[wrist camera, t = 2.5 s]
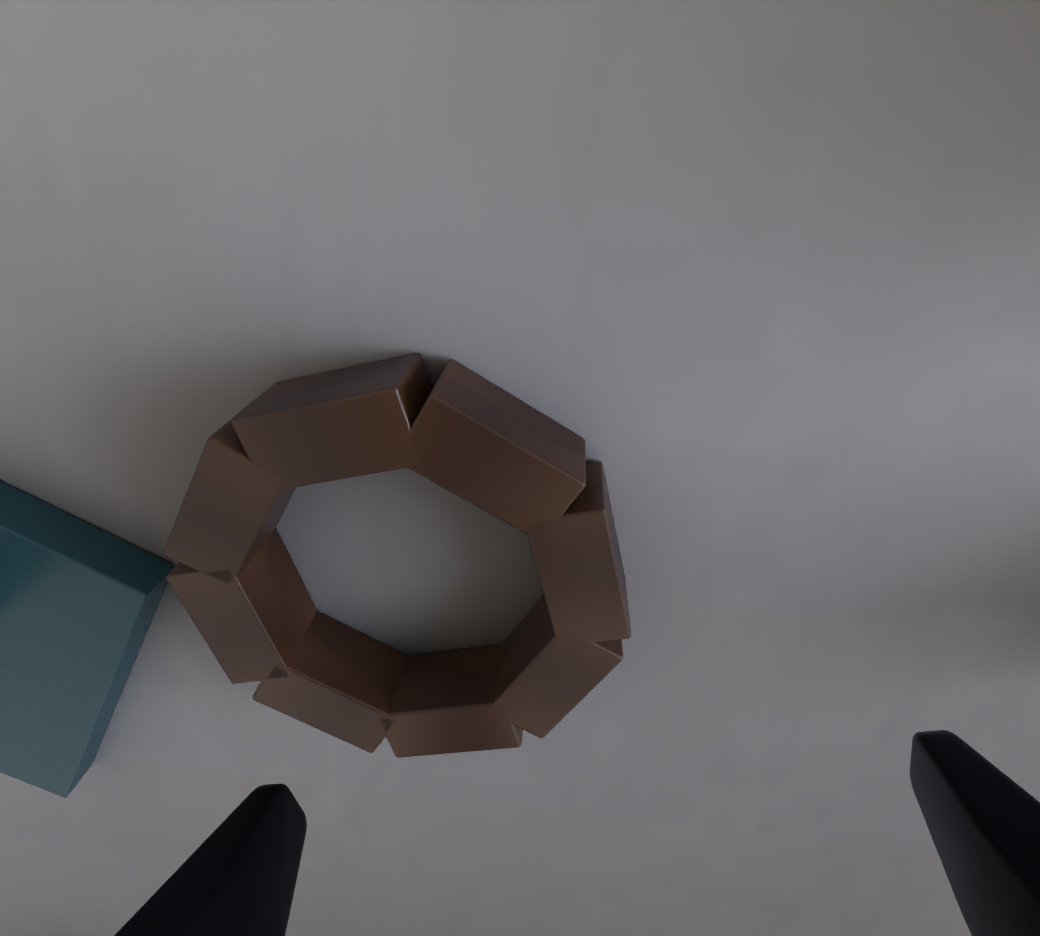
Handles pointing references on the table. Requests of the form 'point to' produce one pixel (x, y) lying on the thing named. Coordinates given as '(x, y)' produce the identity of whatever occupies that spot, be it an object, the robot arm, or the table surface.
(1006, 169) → the table surface
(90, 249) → the table surface
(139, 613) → the post stand
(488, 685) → the ring
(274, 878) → the robot arm
